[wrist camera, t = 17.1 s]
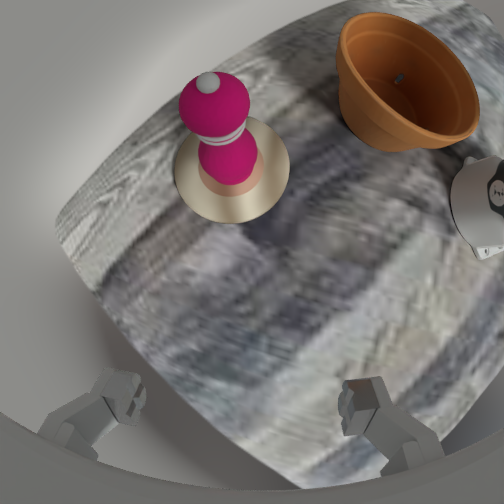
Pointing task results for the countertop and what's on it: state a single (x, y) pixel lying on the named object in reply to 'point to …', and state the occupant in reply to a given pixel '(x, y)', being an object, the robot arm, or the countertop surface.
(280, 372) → the countertop surface
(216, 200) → the disc
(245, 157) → the pepper mill
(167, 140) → the countertop surface
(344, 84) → the flower pot
